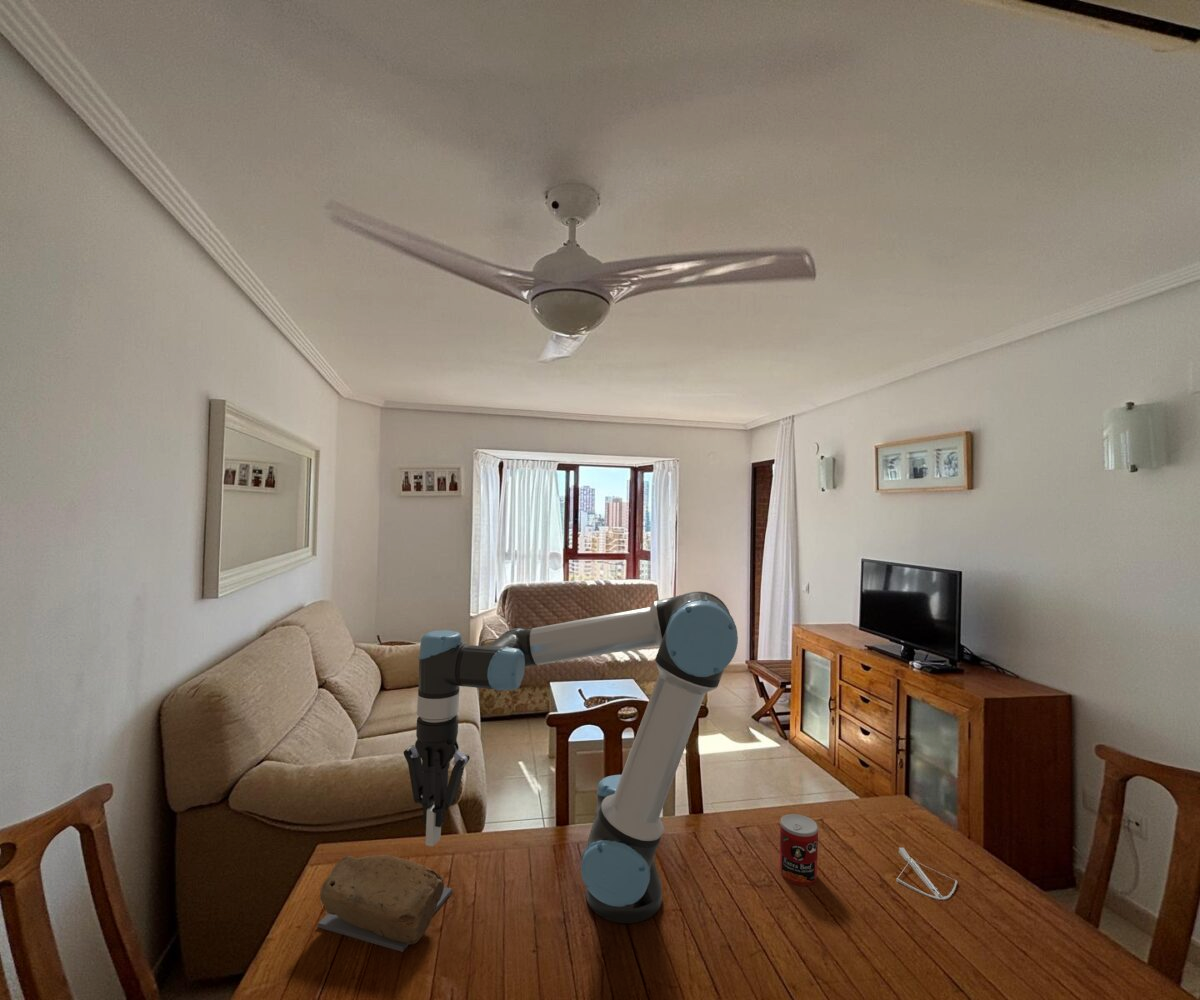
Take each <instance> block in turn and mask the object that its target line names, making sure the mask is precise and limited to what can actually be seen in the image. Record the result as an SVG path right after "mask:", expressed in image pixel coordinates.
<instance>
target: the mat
mask: <svg viewBox="0 0 1200 1000" xmlns="http://www.w3.org/2000/svg"><path fill="white" fill-rule="evenodd" d="M452 894H453V888H450V887H446V886H444V889H443V893H442V896H441V899H440V900H439V901H438V904H437V909H436V911H435V913H434V915H435V914H436V912H438V911H439V909H440V908H441V907H442V906H443V904H444V903H445V902H446V901H447V899H448V898H449V897H450V896H451V895H452ZM317 928H319V929H322V930H326V931H330V932H333V933H336V934H339V935H343V936H346V937H349V938H354V939H357V940H360V941H364V942H367V943H370V944H373V945H374V944H375V945H378V946H380V947H381V946H382V947H384V948H389V949H391V950H395V951H399V952H401V953H403V952H404V951H405V949H407V948H408V946H410V944H407V943H402V942H397V941H394V940H391V939H388V938H385V937H382V936H380V935H377V934H376V933H375V932H371V931H368V930H365V929H362V928H359V927H357V926H355V925H353V924H350V923H348V922H346V921H344V920H342V919H340V918H339V917H338V916H337V915H331V914H329V913H327V914H326V915H325V916H324V917H323V918H322V919H321V920H320V921H319V922H318V924H317Z"/></svg>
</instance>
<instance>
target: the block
mask: <svg viewBox="0 0 1200 1000" xmlns="http://www.w3.org/2000/svg"><path fill="white" fill-rule="evenodd" d="M444 887H445V880H444V877H442V876H440V875H439V873H438V872H437V871H435V870H434V869H432V868H429V867H428V866H425V865H422V864H420V863H417V862H414V861H412V860H408V859H405V858H402V857H398V856H393V855H388V854H378V855H376V854H375V855H365V856H361V857H353V856H352V855H345V856H344V857H342V859H340V860H339V861H338V863H336V864H335V866H334V867H333V868H332V870H331V872H330V874H329V875H328V877H327V878H326V879H325V880H324V882H323V884H322V886H321V888H320V891H319V896H320V897H319V899H320V901H321V903H322V905H323V906H324V909H325V911H326V912H327V914H331V915H337V916H338V917H339V918H340V919H342V920H344V921H346V922H348V923H350V924H353V925H355V926H357V927H359V928H362V929H365V930H368V931H371V932H375V933H376V934H377V935H380V936H382V937H385V938H388V939H391V940H394V941H397V942H402V943H407V944H409V945H414V944H416V943H417V942H419V941H420V939H422V937H423V936H424V934H425V933H426V931H427V930H428V927H429V926H430V923H431V921H432V919H433V916H434V915H435V914H436V913H435V911H436V909H437V904H438V901H439V900H440V899H441V896H442V893H443V889H444ZM436 912H437V911H436ZM434 913H435V914H434Z"/></svg>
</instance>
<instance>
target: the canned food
mask: <svg viewBox="0 0 1200 1000" xmlns="http://www.w3.org/2000/svg"><path fill="white" fill-rule="evenodd" d="M779 825H780V828H779V831H780V832H779V871H780V874H781V876H782V877H783V878H784V879H785V880H786V881H788V882H789V883H792V884H794V885H798V886H811V885H812V884H814V883H815V882H816V879H817V877H818V852H819V851H818V846H819V843H818V842H819V828H818V827H819V826H818V823H817V822H816V821H815V820H814V819H812V818H811V817H808V816H805V815H803V814H800V813H799V814H796V813H788V814H785V815H783V816H781V818H780V824H779Z"/></svg>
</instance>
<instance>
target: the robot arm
mask: <svg viewBox="0 0 1200 1000" xmlns="http://www.w3.org/2000/svg"><path fill="white" fill-rule="evenodd" d="M737 629H738V628H737V626H736V622H735V620H734V618H733V616H732V615H731V614H730V610H729V609H728V607H727V605H726V604H725V603H724V601H722V600H721V598H719V597H717V596H716V595H714V594H712V593H710V592H706V591H702V590H701V591H691V592H686V593H684V594H681V595H676V596H673V597H669V598H664V599H657V600H655V601H654V602H653V603H652V605H651V606H649V607H643V608H638V609H633V610H628V611H627V610H626V611H621V612H616V613H611V614H605V615H599V616H593V617H588V618H587V617H586V618H583V619H582V618H581V619H575V620H571V621H566V622H560V623H554V624H548V625H544V626H538V627H537V626H536V627H533V628H526V629H524V628H519V627H518V628H512V629H510V630H507V631H505V632H503V633H502V634H501V635H500V636H499V637H497V638H496V639H495V640H492V642H491V643H489V644H487V645H473V644H467V643H466V644H464V643H463V640H462V635H461V633H460V632H459V631H453V630H451V629H450V630H449V629H448V630H447V629H445V630H444V629H442V630H439V629H438V630H434V631H433V630H432V631H429V632H427V633H425V634H424V635H423V636H422V637H421V638H420V645H419V655H418V688H417V705H416V706H417V707H416V715H417V716H418V717H416V730H415V731H416V733H415V734H416V738H417V739H416V740H415V743H414V745H411V746H410V747H408V748H407V749H404V751H403V755H404V758H405V760H406V762H407V765H408V766H407V767H408V770H409V771H408V772H409V773H408V774H409V779H410V784H411V785H410V786H411V790H412V797H413V802H414V803H415V804H421V806H422V808H423V809H422V810H423V813H422V823H423V825H425V828H426V829H425V846H429V847H434V846H435V845H436V844H437V843H438V842H439V841H440V840H441V838H442V837H441V834H442V826H443V825H444V824H445V822H446V810H448V809H449V808H450V807H451V806H452V805H454V803H456V800H457V796H458V793H459V789H460V785H461V782H462V777H463V773H464V770H465V767H466V766H467V764H468V762H469V761H470V758H471V757H470V755H469V754H468V753H467V754H463V753H462V752H461V751H460V750H459V748H460V746H459V744H458V740H457V738H458V733H459V716H458V713H459V708H460V707H459V706H460V687H467V688H468V687H469V688H477V689H488V690H495V691H514V690H517V689H518V688H520V686H521V684H522V680H523V679H524V676H525V671H526V670H525V668H530V667H535V666H536V667H537V666H540V665H546V664H551V663H552V664H553V663H558V662H563V661H570V660H575V659H576V660H577V659H581V658H582V659H583V658H587V657H588V658H589V657H594V656H601V655H605V654H612V653H618V652H624V651H630V650H636V649H642V648H648V647H653V646H658V647H659V648H658V651H657V654H656V656H655V658H654V663H655V665H656V667H657V669H658V672H659V673H658V675H657V677H656V678H657V679H656V681H655V684H654V686H653V689H652V692H651V695H650V697H649V700H648V701H647V705H646V709H645V711H644V714H643V716H642V719H641V721H640V725H638V729H637V732H636V736H635V738H634V741H633V743H632V745H631V748H630V751H629V753H628V755H627V758H626V762H625V765H624V767H623V770H622V772H621V774H614V775H609V776H605V777H604V778H602V779H601V780H600V781H599V782H598V785H597V792H596V795H597V801H596V802H597V803H596V812H595V815H594V819H593V822H592V825H591V828H590V832H589V835H588V839H587V842H586V846H585V849H584V850H583V851H582V855H581V864H580V865H581V866H580V873H581V877H582V882H583V883H584V885H585V886H586V887H585V888H586V890H585V891H586V894H585V895H586V896H585V897H586V901H587V904H588V906H589V908H591V910H592V911H593V912H594V913H595V914H596V915H598V916H600V917H601V918H603V919H605V920H608V921H611V922H614V923H620V924H635V923H639V922H640V923H641V922H643V921H645V920H648V919H649V918H651V917H653V916H654V915H656V913H658V912H659V909H660V908H661V906H662V900H663V898H662V896H663V888H662V883H661V879H660V875H659V872H658V869H657V865H656V861H655V855H656V853H657V850H658V847H659V846H660V845H659V844H660V842H661V838H662V836H663V834H664V830H665V829H664V825H663V822H662V819H661V817H660V816H661V814H662V810H663V808H664V805H665V802H666V800H667V796H668V794H669V792H670V789H671V786H672V783H673V782H674V778H675V775H676V773H677V770H678V768H679V765H680V762H681V760H682V757H683V755H684V752H685V749H686V746H687V744H688V741H689V739H690V735H691V733H692V730H693V728H694V724H695V722H696V720H697V716H698V714H699V711H700V708H701V706H702V703H703V701H704V698H705V695H706V694H707V693H708V692H709V693H710V692H712V691H713V690H716V689H718V686H719V684H720V681H721V679H722V676H723V673H724V671H725V669H726V668H727V667H728V666H729V664H731V662H732V660H733V659H734V657H735V654H736V651H737V649H738V648H737V647H738V643H739V642H738V641H739V637H738V630H737ZM452 760H453V763H452V765H453V768H452V770H451V773H450V777H449V769H450V766H451V761H452Z"/></svg>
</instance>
